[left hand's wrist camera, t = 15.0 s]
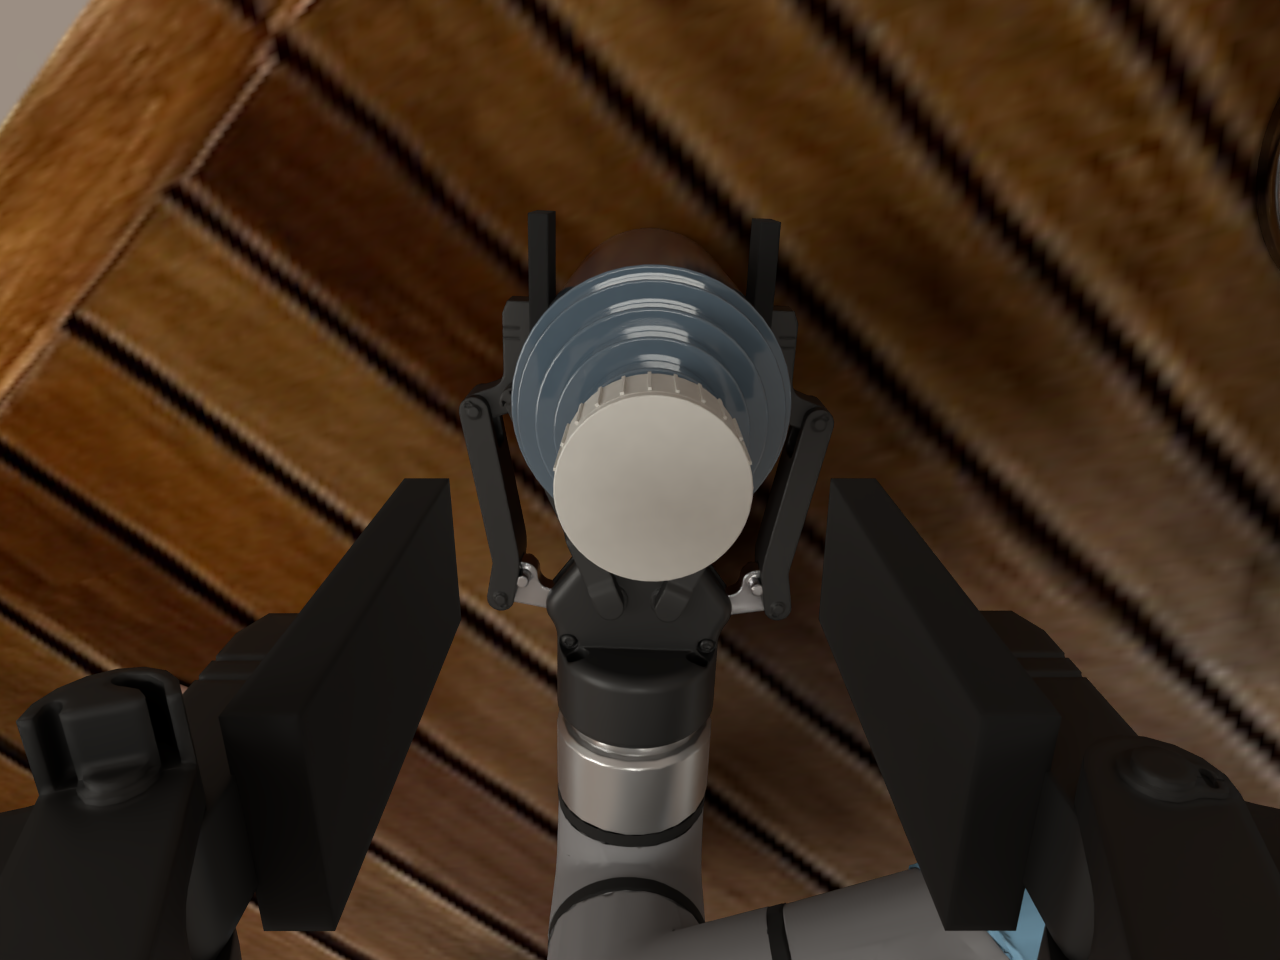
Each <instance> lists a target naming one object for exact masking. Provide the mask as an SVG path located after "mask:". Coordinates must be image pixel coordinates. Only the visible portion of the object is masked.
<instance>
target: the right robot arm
mask: <svg viewBox="0 0 1280 960" xmlns="http://www.w3.org/2000/svg"><path fill="white" fill-rule="evenodd" d="M780 227H781V222H778V221H775V220H772V219H756V218H752V227H751V239H750V252H749V265H748V277H747V290H746V298H747V299H748V300H749V302H750V303H751V304H752V305H753V306H754V307H755V309H756V310H757V311H758V312H759V313H760V315H761V316H762V317H763V318H764V320H765V321H766V323H767V324H768V326H769V327H770V328H771V330H772V331H773V333H774V335H775V337H776V339H777V341H778V343H779V345H780V347H781V349H782V352H783V355H784V358H785V361H786V364H787V367H788V372H789V378H790V383H791V399H792V404H791V416H790V423H789V425H790V426H789V429H788V433H787V436H786V440H785V443H784V446H783V450H782V453H781V457H780V460H779V464H778V467H777V471H776V474H775V478H774V481H773V485H772V488H771V492H770V495H769V499H768V502H767V506H766V509H765V512H764V516H763V519H762V523H761V526H760V530H759V533H758V537H757V542H756V548H755V562H748V563H747V564H746V565H745V566H744V567H743V568H742V570H741V573H740V578H739V580H738V581H737V582H736V583H735V584H733V585H731V586H726V585H725V583H724V582H723V580H722V579H721V578H720V576H719V575H718V573H717V572H716V571H715V569H714V568H713V566H712V565H711V564H710V565H709V566H707V567H705V568H704V569H702V570H700V571H698V572H696V573H693V574H691V575H688V576H685V577H682V578H677V579H673V580H667V581H639V580H632V579H628V578H625V577H621V576H618V575H615V574H613V573H610V572H608V571H606V570H604V569H602V568H601V567H599V566H597V565H596V564H594V563H593V562H592V561H590V560H589V559H587V558H586V557H585V556H584V555H583V554H582V553H581V552H580V551H579V550H578V549H577V548H576V547H575V546H574V544H573V543H572V542H571V541H570V539H569V538H568V536H567V534H566V533H565V531H564V529H563V531H564V535H565V540H566V543H567V546H568V548H569V550H570V552H571V555H572V557H571V559H570V560H569V561H568V562H567V563H566V565H565V566H564V567H563V568H562V569H561V571H560V572H559V573H558V574H557V575H556V577H555V578H554V579H553V580H550V579H547V578H546V577H544V575H543V574H542V573H541V571H540V563H539V561H538V560H537V558H536V557H534V555H532V554H526V547H527V539H526V530H525V524H524V519H523V515H522V510H521V505H520V500H519V495H518V490H517V485H516V480H515V476H514V471H513V466H512V461H511V456H510V451H509V446H508V442H507V437H506V432H505V427H504V422H503V417H502V415H503V414H506V413H509V415H510V418H511V420H512V411H511V391H512V381H513V376H514V371H515V367H516V363H517V360H518V357H519V355H520V352H521V349H522V347H523V344H524V342H525V341H526V339H527V337H528V335H529V333H530V332H531V330H532V328H533V327H534V325H535V324H536V323H537V321H538V320H539V319H540V317H541V316H542V315H543V313H544V312H545V311H546V309H547V308H548V307H549V305H550V304H551V303H552V301H553V300H554V299H555V298H556V251H555V211H540V210H537V211H533V212H530V213H528V255H529V297H524V296H512V297H511V298H510V299H509V300H508V301H507V303H506V305H505V308H504V311H503V313H502V315H503V358H504V373H503V377H502V378H501V379H499V380H496V381H493V382H490V383H487V384H479V385H476V386H475V387H474V388H473V389H472V390H471V392H470V393H469V394H468V395H467V396H466V398H465V399H464V400H463V401H462V403H461V405H460V407H459V414H460V419H461V423H462V428H463V432H464V437H465V441H466V446H467V450H468V454H469V459H470V463H471V468H472V472H473V477H474V481H475V486H476V490H477V495H478V499H479V504H480V508H481V512H482V517H483V521H484V526H485V530H486V535H487V539H488V544H489V548H490V553H491V557H492V562H493V565H492V571H491V577H490V583H489V589H488V595H487V599H488V603H489V604H490V606H491V607H493V608H494V609H497V610H506V609H509V608H510V607H511V606H512V605H513V602H519V603H524V604H529V605H535V606H540V607H545V608H547V612H548V614H549V616H550V617H551V619H552V620H553V622H554V624H555V626H556V629H557V636H558V706H559V708H560V709H559V714H558V720H557V747H558V796H559V814H558V844H557V865H556V876H555V883H554V891H553V899H552V906H551V914H550V922H549V932H548V958H547V960H1037V957H1038V953H1039V949H1040V944H1041V940H1042V936H1043V931H1044V927H1045V923H1044V921H1043V919H1042V918H1041V916H1040V914H1039V912H1038V910H1037V908H1036V907H1035V905H1034V903H1033V901H1032V899H1031V897H1030V896H1029V894H1028V892H1027V890H1026V888H1025V891H1024V896H1023V901H1022V905H1021V910H1020V915H1019V920H1018V924H1017V929H1016V931H945V930H944V927H943V925H942V922H941V920H940V917H939V915H938V912H937V910H936V907H935V905H934V902H933V900H932V897H931V895H930V893H929V890H928V888H927V885H926V883H925V880H924V878H923V875H922V873H921V870H920V868H919V865H918V863H916V864H912V865H909V870H905V871H902V872H898V873H895V874H891V875H888V876H884V877H880V878H877V879H873V880H870V881H866V882H863V883H859V884H856V885H852V886H848V887H845V888H841V889H838V890H834V891H831V892H827V893H823V894H820V895H816V896H813V897H809V898H806V899H802V900H799V901H795V902H791V903H788V904H786V903H785V904H778V905H775V906H771V907H764V908H760V909H757V910H753V911H749V912H745V913H741V914H737V915H733V916H729V917H725V918H721V919H717V920H713V921H710V922H706V923H705V916H704V904H703V891H702V878H701V851H702V828H703V805H704V801H705V790H706V786H707V776H708V762H709V748H710V734H711V718H710V714H711V711H712V707H713V696H714V684H715V671H716V658H717V645H718V638H719V635H720V632H721V630H722V629H723V627H724V626H725V625H726V623H727V622H728V620H729V619H730V616H731V614H739V613H748V612H756V611H765V614H766V615H767V616H768V617H769V618H770V619H773V620H781V619H784V618H786V617H787V616H788V615H789V613H790V612H791V599H790V587H789V575H788V573H789V570H790V567H791V563H792V560H793V557H794V554H795V550H796V547H797V544H798V541H799V537H800V534H801V531H802V528H803V524H804V521H805V518H806V515H807V511H808V508H809V505H810V502H811V498H812V495H813V492H814V489H815V485H816V482H817V479H818V476H819V472H820V469H821V466H822V463H823V459H824V456H825V453H826V450H827V446H828V443H829V440H830V437H831V433H832V430H833V426H834V420H833V417H832V415H831V414H830V413H829V411H828V410H827V409H826V408H825V406H824V405H823V404H822V403H821V401H820V400H819V399H818V398H817V397H814V396H808V395H805V394H803V393H800V392H798V391H796V390H794V389H793V386H792V380H793V370H794V360H795V348H796V338H797V331H798V322H797V319H796V315H795V312H794V311H793V310H792V309H791V308H790V307H789V306H773V304H774V293H775V282H776V271H777V260H778V249H779V238H780ZM512 422H513V420H512ZM543 488H544V487H543ZM544 490H545V489H544ZM545 492H546V494H547V496H548V498H549V501H550V503H551V505H552V507H553V509H554V511H555V513H556V516H557V518H558V515H557V511H556V508H555V502H554V499H553V498H552V497H551V496H550V494H549V493H548V492H547V491H546V490H545ZM558 520H559V518H558ZM559 522H560V521H559ZM560 524H561V523H560ZM561 526H562V525H561ZM562 528H563V527H562Z"/></svg>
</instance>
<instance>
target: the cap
mask: <svg viewBox="0 0 1280 960" xmlns="http://www.w3.org/2000/svg"><path fill="white" fill-rule="evenodd" d="M742 440H743V437H742V434H741V432H740V429H739V426H738V424H737V421H736V419H735V418H734V419H732V417H731V415H730V414H729V413H728V411H727V410H726V409H725V407H724V406H723V403H722V400H721V399H720V398H719V399H718V400H717V399H716V397H714V396H713V395H712V394H711V393H709V392H708V391H707V390H705V389H704V388H702V385H701V384H700V383H698V385H697V384H695V383H693V382H690V381H688V380H686V379H683V378H679V377H678V375H677V374H674V375H673V376H672V375H665V374H651V372H648V374H640V375H634V376H630V377H626V376H622V379H620V380H617V381H615V382H612V383H611V384H609V385H607V386H605V387H603V388H602V386H601V387H599V388H598V391H597V392H596V393H595V394H593V395H592V396H591V397H590V398H589V399H588V400H587V401H586V402H585V403H584V404H583V403H581V404H580V405H579V408H578V411H577V413H576V415H575V416H574V418H573V420H572V421H571V423H570V424H567V426H566V428H565V432H564V435H563V438H562V441H561V444H560V446H562V447H560V449H559V452H558V455H557V458H556V461H555V464H554V468H553V471H555V474H554V483H553V496H554V502H555V508H556V511H557V515H558V518H559V521H560V523H561V525H562V527H563V529H564V531H565V533H566V534H567V536H568V538H569V539H570V541H571V542H572V543H573V544H574V546H575V547H576V548H577V549H578V550H579V551H580V552H581V553H582V554H583V555H584V556H585V557H586V558H587V559H589V560H590V561H592V562H593V563H594V564H596V565H597V566H599V567H601V568H602V569H604V570H606V571H608V572H610V573H613V574H615V575H618V576H621V577H625V578H628V579H632V580H639V581H667V580H673V579H677V578H682V577H685V576H688V575H691V574H693V573H696V572H698V571H700V570H702V569H704V568H705V567H707V566H709V565H710V564H712V563H713V562H715V561H716V560H717V559H718V558H720V557H721V556H722V555H723V554H724V553H725V552H726V551H727V550H728V549H729V548H730V547H731V546H732V545H733V543H734V542H735V541H736V539H737V538H738V536H739V535H740V533H741V531H742V529H743V527H744V526H745V524H746V521H747V518H748V515H749V513H750V509H751V504H752V498H753V478H752V472H751V467H750V465H752V461H751V459H750V456H749V453H748V451H747V448H746V445H745V443H744V441H742Z"/></svg>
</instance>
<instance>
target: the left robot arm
mask: <svg viewBox="0 0 1280 960" xmlns="http://www.w3.org/2000/svg"><path fill="white" fill-rule="evenodd" d="M1256 200H1257V212H1258V218H1259V224H1260V228H1261V232H1262V235H1263V238H1264V242H1265V244H1266V246H1267V249H1268V251H1269V253H1270V256H1271V257H1272V259H1273V261H1274V262H1275V264H1276V266H1277V267H1278V269H1279V270H1280V98H1279V100H1278V102H1277V104H1276V106H1275V109H1274V111H1273V114H1272V116H1271V119H1270V121H1269V124H1268V127H1267V130H1266V133H1265V136H1264V140H1263V143H1262V148H1261V152H1260V157H1259V163H1258V171H1257V182H1256ZM460 621H461V611H460V600H459V588H458V577H457V565H456V553H455V542H454V530H453V519H452V507H451V495H450V484H449V479H404V480H403V481H402V482H401V484H400V485H399V486H398V488H397V489H396V490H395V491H394V493H393V494H392V495H391V497H390V498H389V499H388V500H387V502H386V503H385V504H384V505H383V507H382V508H381V509H380V511H379V512H378V513H377V514H376V516H375V517H374V518H373V520H372V521H371V522H370V523H369V525H368V526H367V527H366V528H365V530H364V531H363V532H362V534H361V535H360V536H359V537H358V539H357V540H356V541H355V543H354V544H353V545H352V546H351V548H350V549H349V550H348V551H347V553H346V554H345V555H344V557H343V558H342V559H341V560H340V562H339V563H338V564H337V566H336V567H335V568H334V569H333V571H332V572H331V573H330V574H329V576H328V577H327V578H326V580H325V581H324V582H323V583H322V585H321V586H320V587H319V589H318V590H317V591H316V592H315V594H314V595H313V596H312V597H311V599H310V600H309V601H308V603H307V604H306V605H305V606H304V608H303V609H302V610H301V612H300V613H269V614H267V615H266V616H264V617H262V618H261V619H259V620H257V621H256V622H254V623H252V624H251V625H249V626H248V627H246V628H244V629H243V630H241V631H239V632H238V633H236V634H235V635H234V637H233V638H232V639H231V640H230V641H229V642H228V643H227V644H226V646H225V647H224V648H223V649H222V650H221V651H220V652H219V654H218V655H217V656H216V661H211V663H210V664H209V665H208V666H207V667H206V668H205V669H204V670H203V672H202V673H201V674H200V675H199V680H195V681H194V682H193V683H192V684H191V685H190V686H189V687H188V688H187V690H186V691H185V692H184V693H183V694H182V691H181V687H180V682H179V679H177V678H176V677H175V676H173V675H172V674H170V673H169V672H168V671H166V670H160V669H154V668H149V667H137V668H123V669H115V670H111V671H107V672H103V673H98V674H94V675H90V676H86V677H84V678H82V679H79V680H77V681H74V682H72V683H69V684H67V685H64V686H62V687H60V688H57V689H55V690H54V691H52V692H51V693H49V694H48V695H46V696H44V697H43V698H41V699H40V700H38V701H36V702H35V703H33V704H32V705H31V706H30V707H29V708H28V709H27V710H26V711H25V712H24V713H23V714H22V716H21V717H20V718H19V719H18V720H17V721H16V723H17V726H18V729H19V733H20V736H21V739H22V742H23V745H24V748H25V752H26V755H27V758H28V761H29V764H30V767H31V771H32V774H33V777H34V780H35V783H36V786H37V789H38V793H39V797H38V799H37V801H36V803H35V805H33V806H29V807H26V808H21V809H16V810H11V811H7V812H2V813H0V960H242V959H241V952H240V945H239V940H238V936H237V931H236V926H237V924H238V922H239V920H240V918H241V916H242V915H243V913H244V911H245V909H246V907H247V905H248V903H249V902H250V900H251V898H252V896H253V894H254V892H255V891H256V896H257V901H258V906H259V910H260V915H261V920H262V924H263V929H264V931H335V930H336V927H337V925H338V922H339V920H340V917H341V915H342V912H343V910H344V907H345V905H346V902H347V900H348V897H349V895H350V893H351V890H352V888H353V885H354V883H355V880H356V878H357V875H358V873H359V870H360V868H361V865H362V863H363V860H364V858H365V855H366V853H367V851H368V848H369V846H370V843H371V841H372V838H373V836H374V833H375V831H376V828H377V826H378V823H379V821H380V818H381V816H382V813H383V811H384V809H385V806H386V804H387V801H388V799H389V796H390V794H391V791H392V789H393V786H394V784H395V781H396V779H397V776H398V774H399V772H400V769H401V767H402V764H403V762H404V759H405V757H406V754H407V752H408V749H409V747H410V744H411V742H412V739H413V737H414V734H415V732H416V730H417V727H418V725H419V722H420V720H421V717H422V715H423V712H424V710H425V707H426V705H427V702H428V700H429V697H430V695H431V692H432V690H433V688H434V685H435V683H436V680H437V678H438V675H439V673H440V670H441V668H442V665H443V663H444V660H445V658H446V655H447V653H448V651H449V648H450V646H451V643H452V641H453V638H454V636H455V633H456V631H457V628H458V626H459V623H460ZM819 621H820V623H821V626H822V628H823V631H824V633H825V636H826V638H827V641H828V643H829V646H830V648H831V651H832V653H833V655H834V658H835V660H836V663H837V665H838V668H839V670H840V673H841V675H842V678H843V680H844V683H845V685H846V688H847V690H848V693H849V695H850V697H851V700H852V702H853V705H854V707H855V710H856V712H857V715H858V717H859V720H860V722H861V725H862V727H863V730H864V732H865V734H866V737H867V739H868V742H869V744H870V747H871V749H872V752H873V754H874V757H875V759H876V762H877V764H878V767H879V769H880V772H881V774H882V776H883V779H884V781H885V784H886V786H887V789H888V791H889V794H890V796H891V799H892V801H893V804H894V806H895V809H896V811H897V813H898V816H899V818H900V821H901V823H902V826H903V828H904V831H905V833H906V836H907V838H908V841H909V843H910V846H911V848H912V851H913V853H914V855H915V858H916V860H917V863H918V865H919V868H920V870H921V873H922V875H923V878H924V880H925V883H926V885H927V888H928V890H929V893H930V895H931V897H932V900H933V902H934V905H935V907H936V910H937V912H938V915H939V917H940V920H941V922H942V925H943V927H944V930H945V931H1016V929H1017V924H1018V920H1019V915H1020V910H1021V905H1022V901H1023V896H1024V891H1025V888H1026V890H1027V892H1028V894H1029V896H1030V897H1031V899H1032V901H1033V903H1034V905H1035V907H1036V908H1037V910H1038V912H1039V914H1040V916H1041V918H1042V919H1043V921H1044V923H1045V927H1044V931H1043V936H1042V940H1041V944H1040V949H1039V953H1038V957H1037V960H1280V809H1277V808H1272V807H1267V806H1262V805H1258V804H1254V803H1250V802H1246V801H1244V800H1243V798H1242V796H1241V794H1240V793H1239V791H1238V790H1237V789H1236V787H1235V786H1234V785H1233V784H1232V782H1231V781H1230V780H1229V779H1228V777H1227V776H1226V775H1225V774H1223V773H1222V772H1221V771H1219V770H1218V769H1217V768H1215V767H1214V766H1212V765H1211V764H1210V763H1208V762H1207V761H1206V760H1204V759H1203V758H1201V757H1199V756H1197V755H1194V754H1192V753H1190V752H1188V751H1186V750H1184V749H1182V748H1180V747H1178V746H1175V745H1173V744H1169V743H1166V742H1162V741H1158V740H1155V739H1151V738H1148V737H1142V736H1138V735H1137V734H1136V733H1135V732H1134V731H1133V730H1132V728H1131V727H1130V726H1129V725H1128V724H1127V723H1126V722H1125V721H1124V719H1123V718H1122V717H1121V716H1120V715H1119V714H1118V713H1117V712H1116V711H1115V709H1114V708H1113V707H1112V706H1111V705H1110V704H1109V703H1108V702H1107V700H1106V699H1105V698H1104V697H1103V696H1102V695H1101V694H1100V693H1099V691H1098V690H1097V689H1096V688H1095V687H1094V686H1093V685H1092V684H1091V682H1090V681H1089V680H1088V679H1087V678H1086V677H1082V675H1081V671H1080V670H1079V669H1078V668H1077V667H1076V666H1075V665H1074V663H1073V662H1072V661H1071V660H1070V659H1069V658H1065V656H1064V652H1063V651H1062V650H1061V649H1060V648H1059V647H1058V646H1057V644H1056V643H1055V642H1054V641H1053V640H1052V639H1051V638H1050V637H1049V635H1048V634H1047V633H1046V632H1045V631H1044V630H1043V629H1041V628H1039V627H1038V626H1036V625H1034V624H1033V623H1031V622H1029V621H1028V620H1026V619H1024V618H1023V617H1021V616H1019V615H1018V614H1016V613H1014V612H1013V611H979V610H978V609H977V608H976V606H975V605H974V604H973V603H972V601H971V600H970V599H969V597H968V596H967V595H966V594H965V592H964V591H963V590H962V589H961V587H960V586H959V585H958V583H957V582H956V581H955V580H954V578H953V577H952V576H951V574H950V573H949V572H948V571H947V569H946V568H945V567H944V566H943V564H942V563H941V562H940V560H939V559H938V558H937V557H936V555H935V554H934V553H933V551H932V550H931V549H930V548H929V546H928V545H927V544H926V543H925V541H924V540H923V539H922V537H921V536H920V535H919V534H918V532H917V531H916V530H915V528H914V527H913V526H912V525H911V523H910V522H909V521H908V520H907V518H906V517H905V516H904V514H903V513H902V512H901V511H900V509H899V508H898V507H897V505H896V504H895V503H894V502H893V500H892V499H891V498H890V497H889V495H888V494H887V493H886V491H885V490H884V489H883V488H882V486H881V485H880V484H879V482H878V481H877V480H876V479H831V484H830V495H829V507H828V518H827V530H826V542H825V553H824V565H823V576H822V588H821V600H820V611H819Z"/></svg>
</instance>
